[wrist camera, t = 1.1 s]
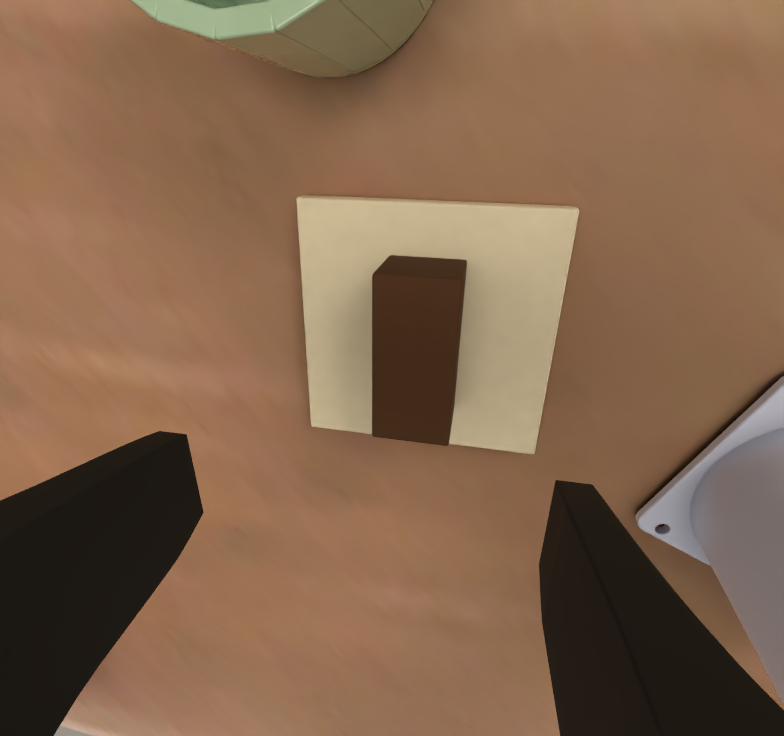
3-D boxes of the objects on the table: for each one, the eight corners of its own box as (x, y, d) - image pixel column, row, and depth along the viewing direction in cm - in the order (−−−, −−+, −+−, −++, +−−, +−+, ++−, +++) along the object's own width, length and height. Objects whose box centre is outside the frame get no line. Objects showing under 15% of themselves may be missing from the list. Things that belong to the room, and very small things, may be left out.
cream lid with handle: (576, 205, 15) (597, 221, 12) (533, 443, 19) (540, 501, 16) (303, 194, 16) (260, 205, 13) (316, 417, 20) (286, 465, 17)
